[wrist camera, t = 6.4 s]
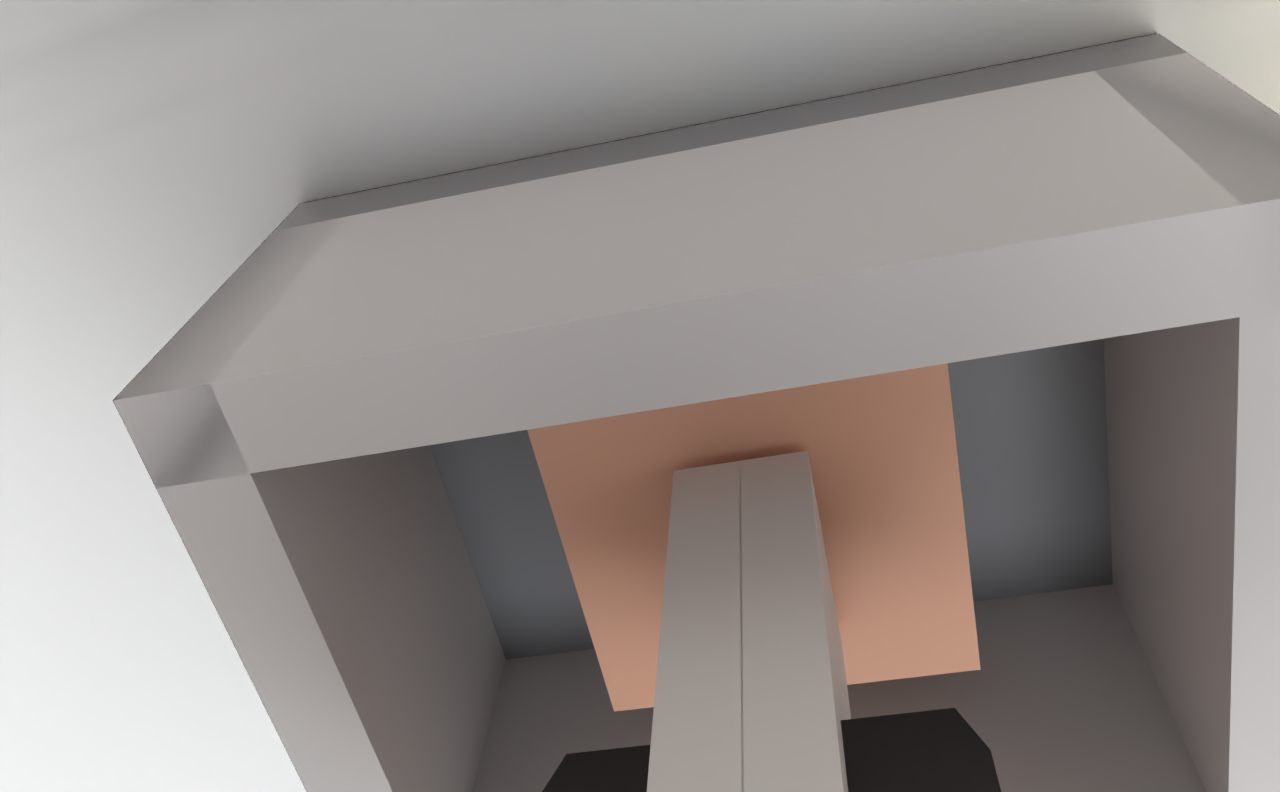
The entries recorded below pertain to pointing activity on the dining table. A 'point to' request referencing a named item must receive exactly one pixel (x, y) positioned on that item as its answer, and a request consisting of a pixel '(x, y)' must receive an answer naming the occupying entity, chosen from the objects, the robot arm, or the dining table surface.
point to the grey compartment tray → (755, 363)
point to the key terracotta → (847, 503)
